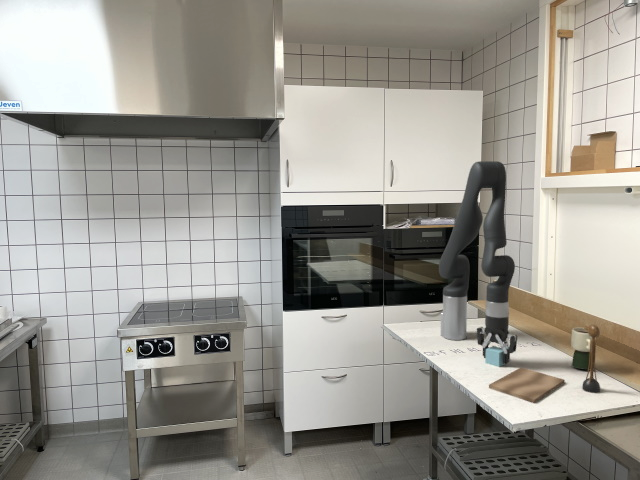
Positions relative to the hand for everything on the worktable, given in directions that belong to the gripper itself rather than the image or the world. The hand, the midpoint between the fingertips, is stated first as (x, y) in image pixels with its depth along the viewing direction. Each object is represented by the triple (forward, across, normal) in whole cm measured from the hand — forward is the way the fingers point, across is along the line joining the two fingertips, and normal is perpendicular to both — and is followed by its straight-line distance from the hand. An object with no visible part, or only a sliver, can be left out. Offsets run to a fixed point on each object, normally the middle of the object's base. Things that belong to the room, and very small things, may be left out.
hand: (495, 360), depth 169 cm
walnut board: (+1, +16, -10) cm, 19 cm away
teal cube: (+1, 0, 0) cm, 1 cm away
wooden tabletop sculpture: (+1, +30, +1) cm, 30 cm away
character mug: (+1, +22, +16) cm, 27 cm away
